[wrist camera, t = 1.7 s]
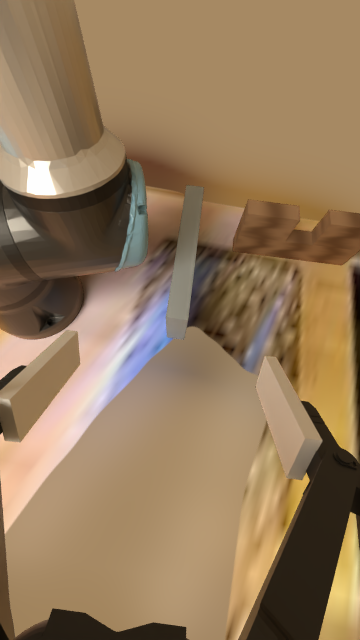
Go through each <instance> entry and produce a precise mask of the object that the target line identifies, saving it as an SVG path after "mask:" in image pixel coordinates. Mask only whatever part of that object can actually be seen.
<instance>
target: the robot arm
mask: <svg viewBox="0 0 360 640" xmlns="http://www.w3.org/2000/svg"><path fill="white" fill-rule="evenodd" d="M0 145H1V148H0V329H2V330H3V331H5V332H7V333H9V334H11V335H14V336H16V337H19V338H22V339H41V338H46V337H49V336H52V335H54V334H56V333H58V332H60V331H61V330H63V329H64V328H65V327H67V326H68V325H69V324H70V323H71V322H72V321H73V320H74V318H75V317H76V316H77V314H78V312H79V310H80V308H81V305H82V302H83V287H82V284H81V281H80V279H79V278H78V276H81V275H89V274H96V273H104V272H112V271H119V270H120V269H124V268H129V267H134V266H138V265H140V264H141V263H142V262H143V261H144V260H145V258H146V255H147V250H148V215H147V211H146V209H147V204H146V199H147V198H146V188H145V181H144V175H143V171H142V167H141V165H140V164H139V163H138V162H137V161H133V160H130V159H127V158H126V153H125V148H124V145H123V143H122V141H121V140H120V139H119V138H118V137H117V136H116V135H115V134H113V133H112V132H111V131H110V130H108V129H107V128H106V127H105V126H104V125H103V122H102V118H101V114H100V110H99V105H98V101H97V97H96V92H95V88H94V83H93V79H92V75H91V71H90V66H89V62H88V58H87V54H86V49H85V45H84V41H83V36H82V32H81V28H80V24H79V19H78V15H77V11H76V7H75V2H74V0H0ZM79 365H80V356H79V343H78V332H77V331H69V330H66V331H65V332H64V333H63V334H62V335H61V336H60V337H59V338H58V339H57V340H55V341H54V342H53V343H52V344H51V345H50V346H49V347H48V348H47V349H46V350H44V351H43V352H42V353H41V354H40V355H39V356H38V357H37V358H36V359H35V360H33V361H32V362H31V363H30V364H29V365H28V366H23V365H21V366H19V367H17V368H15V369H13V370H12V371H10V372H9V373H8V374H7V375H6V376H5V377H3V378H2V379H1V380H0V434H1V433H2V432H3V436H4V439H5V441H12V442H21V441H22V440H23V438H24V437H25V436H26V434H27V433H28V432H29V430H30V429H31V428H32V426H33V425H34V424H35V423H36V421H37V420H38V419H39V417H40V416H41V415H42V413H43V412H44V411H45V410H46V408H47V407H48V406H49V404H50V403H51V402H52V400H53V399H54V398H55V396H56V395H57V394H58V393H59V391H60V390H61V389H62V387H63V386H64V385H65V383H66V382H67V381H68V379H69V378H70V377H71V376H72V374H73V373H74V372H75V370H76V369H77V368H78V366H79ZM255 387H256V390H257V393H258V396H259V399H260V402H261V404H262V408H263V411H264V414H265V417H266V419H267V422H268V425H269V428H270V431H271V434H272V437H273V440H274V443H275V446H276V449H277V452H278V455H279V458H280V461H281V463H282V466H283V469H284V472H285V475H286V478H291V479H298V480H302V479H303V477H304V476H305V474H306V472H307V475H308V477H309V479H310V482H309V483H308V485H307V487H306V489H305V491H304V493H303V497H302V499H301V501H300V503H299V506H298V508H297V510H296V512H295V514H294V517H293V519H292V521H291V523H290V526H289V528H288V530H287V532H286V534H285V537H284V539H283V541H282V543H281V546H280V548H279V550H278V552H277V555H276V557H275V559H274V561H273V563H272V566H271V568H270V570H269V572H268V575H267V577H266V579H265V581H264V583H263V586H262V588H261V590H260V592H259V595H258V597H257V599H256V601H255V604H254V606H253V608H252V610H251V612H250V615H249V617H248V619H247V621H246V624H245V626H244V628H243V630H242V632H241V635H240V637H239V639H238V640H318V639H319V635H320V631H321V627H322V623H323V619H324V615H325V611H326V607H327V603H328V599H329V595H330V591H331V587H332V583H333V579H334V575H335V571H336V567H337V563H338V559H339V555H340V550H341V546H342V542H343V538H344V534H345V530H346V526H347V522H348V518H349V514H350V512H352V513H354V514H356V519H357V529H358V539H359V548H360V464H359V463H358V461H357V460H356V458H355V457H354V456H353V455H352V454H350V453H349V452H348V451H346V450H344V449H342V448H340V447H339V446H338V444H337V442H336V441H335V439H334V437H333V436H332V434H331V432H330V431H329V429H328V428H327V426H326V425H325V423H324V421H323V419H322V418H321V416H320V415H319V413H318V411H317V410H316V408H314V407H313V406H312V405H311V404H310V403H309V402H305V401H300V399H299V397H298V396H297V394H296V392H295V390H294V388H293V387H292V385H291V383H290V381H289V379H288V378H287V376H286V374H285V372H284V370H283V369H282V367H281V365H280V363H279V361H278V360H277V358H276V357H273V356H265V357H264V360H263V364H262V367H261V370H260V373H259V377H258V380H257V383H256V386H255ZM0 640H189V639H187V638H186V627H182V626H174V625H167V624H160V623H150V624H146V625H143V626H139V627H136V628H132V629H128V630H124V631H121V632H115V631H113V630H111V629H110V628H108V627H107V626H105V625H104V624H102V623H100V622H99V621H97V620H95V619H94V618H92V617H91V616H89V615H88V614H86V613H82V612H74V611H67V610H60V609H52V612H51V614H50V618H49V620H45V621H42V622H40V623H38V624H35V625H33V626H32V627H30V628H29V629H27V630H25V631H24V632H22V633H21V634H20V635H18V636H17V637H15V634H14V626H13V619H12V615H11V610H10V601H9V590H8V575H7V563H6V548H5V535H4V522H3V508H2V495H1V481H0Z"/></svg>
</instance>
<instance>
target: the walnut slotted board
mask: <svg viewBox="0 0 360 640" xmlns="http://www.w3.org/2000/svg"><path fill="white" fill-rule="evenodd" d="M299 221H300V210H299V206H296V205H288V204H280V203H271V202H264V201H255V200H248V201H247V204H246V207H245V209H244V212H243V215H242V217H241V220H240V223H239V225H238V228H237V231H236V233H235V236H234V239H233V252H241V253H249V254H257V255H265V256H273V257H280V258H288V259H296V260H304V261H312V262H319V263H327V264H335V265H343V264H344V263H345V262H346V261H348V260H349V259H350V258H351V257H352V256H354V255H355V254H356V253H357V252H358V251H360V214H359V213H351V212H342V211H335V210H329V211H328V212H327V213H326V214H325V216H324V217H323V218H322V219H321V221H320V222H319V223H318V224H317V226H316V227H315V228H314V229H313V231H312V232H309V231H301V230H294V228H295V227H296V225H297V224H298V223H299Z"/></svg>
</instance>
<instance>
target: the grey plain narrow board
mask: <svg viewBox="0 0 360 640" xmlns="http://www.w3.org/2000/svg"><path fill="white" fill-rule="evenodd" d="M203 193H204V187H198V186H190V185H187V186H186V191H185V198H184V204H183V211H182V217H181V223H180V230H179V236H178V243H177V249H176V256H175V262H174V268H173V275H172V281H171V288H170V294H169V300H168V307H167V313H166V328H167V337H168V338H176V339H183V340H184V338H185V333H186V328H187V323H188V317H189V308H190V300H191V292H192V284H193V275H194V267H195V259H196V251H197V242H198V234H199V226H200V217H201V209H202V201H203Z"/></svg>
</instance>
